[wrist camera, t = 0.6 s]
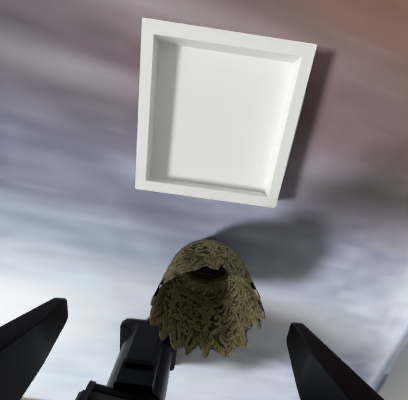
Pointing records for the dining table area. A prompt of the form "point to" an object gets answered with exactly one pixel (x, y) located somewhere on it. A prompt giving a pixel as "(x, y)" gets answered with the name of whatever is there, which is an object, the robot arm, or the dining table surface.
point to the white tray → (218, 111)
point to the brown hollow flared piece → (206, 300)
